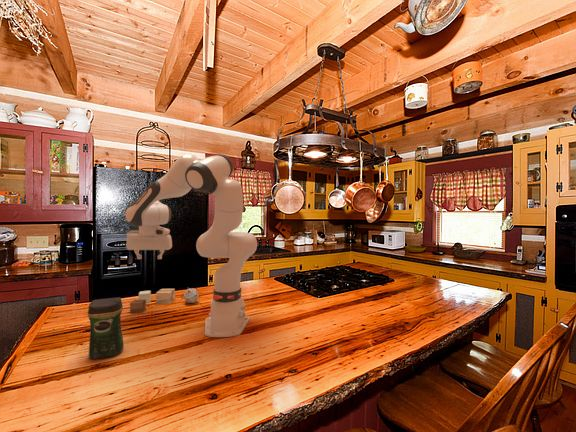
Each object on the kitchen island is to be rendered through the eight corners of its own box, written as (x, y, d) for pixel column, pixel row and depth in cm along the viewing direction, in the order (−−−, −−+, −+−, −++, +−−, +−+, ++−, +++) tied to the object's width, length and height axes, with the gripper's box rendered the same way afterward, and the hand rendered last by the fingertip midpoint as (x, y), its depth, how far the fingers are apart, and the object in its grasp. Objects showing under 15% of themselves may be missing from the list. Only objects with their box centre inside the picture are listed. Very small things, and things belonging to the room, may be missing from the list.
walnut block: (141, 313, 126) (141, 302, 126) (130, 313, 126) (130, 303, 125) (145, 309, 131) (145, 299, 131) (135, 309, 131) (135, 299, 130)
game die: (194, 309, 142) (206, 292, 144) (187, 309, 134) (200, 291, 136) (182, 299, 144) (194, 283, 146) (174, 298, 136) (187, 281, 138)
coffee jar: (125, 345, 96) (125, 293, 96) (120, 356, 89) (119, 301, 88) (93, 350, 93) (92, 296, 93) (84, 362, 86) (84, 304, 85)
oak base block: (170, 304, 139) (170, 292, 139) (156, 304, 138) (156, 292, 138) (174, 299, 146) (174, 288, 145) (161, 299, 145) (161, 288, 145)
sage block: (149, 302, 140) (149, 293, 140) (138, 303, 139) (138, 294, 139) (150, 299, 145) (150, 290, 145) (140, 300, 143) (140, 291, 143)
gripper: (123, 230, 125) (123, 260, 126) (168, 231, 127) (168, 260, 128) (130, 229, 131) (130, 257, 132) (173, 229, 133) (173, 257, 134)
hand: (149, 258), depth 130 cm, fingers open, 8 cm apart
